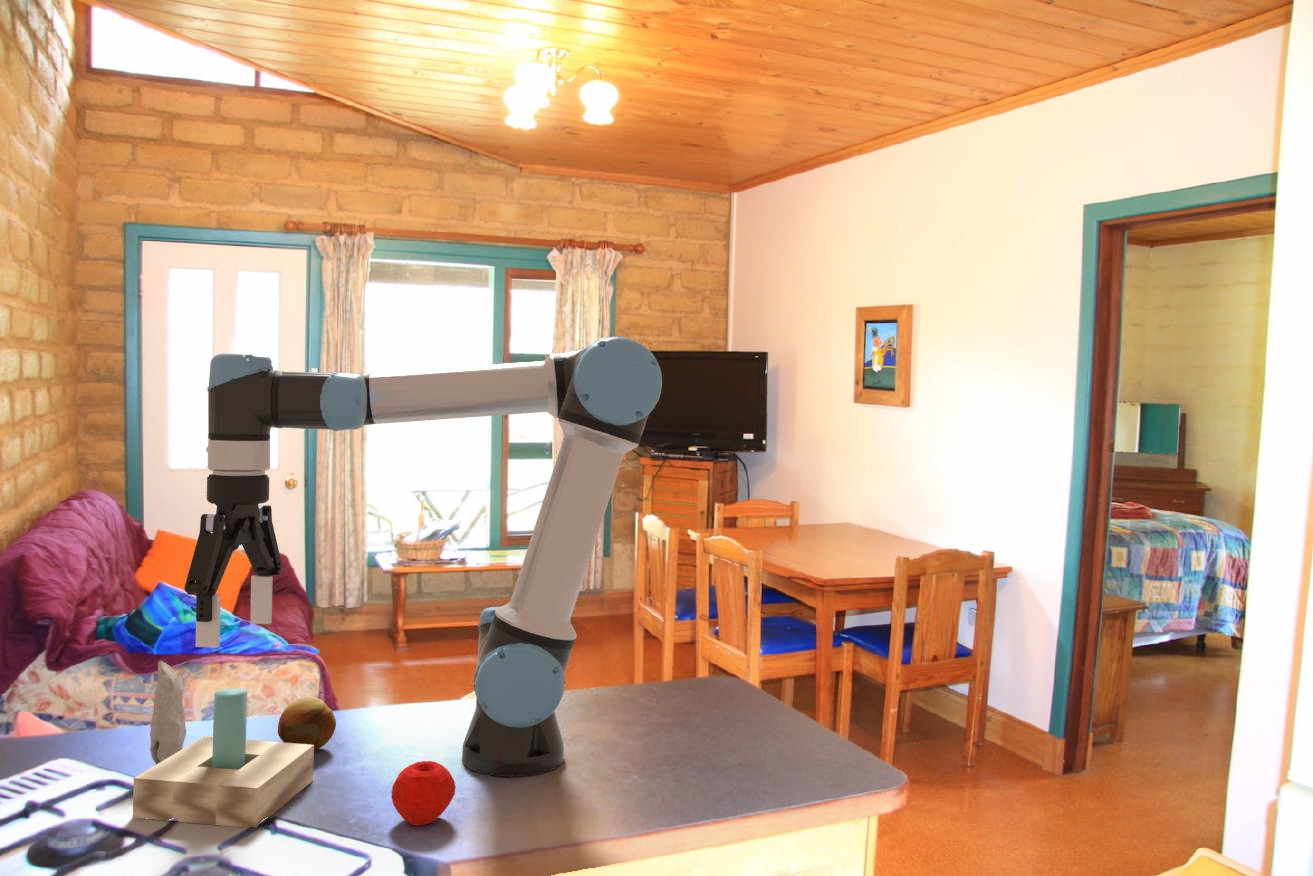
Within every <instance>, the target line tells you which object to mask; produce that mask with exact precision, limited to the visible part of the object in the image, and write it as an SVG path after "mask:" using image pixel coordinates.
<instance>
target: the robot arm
mask: <svg viewBox="0 0 1313 876" xmlns="http://www.w3.org/2000/svg"><path fill="white" fill-rule="evenodd" d="M209 366H210V367H209V377H208V386H207V387H206V388H207V395H208V396H207V400H208V402H207V403H208V404H207V407H208V411H207V414H208V417H207V418H208V419H207V423H208V426H207V427H208V429H207V430H208V434H207V440H208V443H207V447H206V453H207V469H208V470H209V471H211V472H212V473H210V474H208V476H206V500H207V502H208V503H209V504H214V505H215V506H216V511H215V513H214V514H213V513H210V514H209V513H202V514H201V516H200V521H199V523H200V524H199V534H198V536H197V540H196V545H195V549H194V552H193V555H192V559H191V562H190V566H189V571H188V572H187V573H188V574H187V577H186V581H185V585H184V591H185V592H186V593H187V595H188V596H195V598H196V599H195V601H196V602H195V604H196V605H195V606H196V607H195V648H212V649H214V648H215V649H217V648H219V647H220V646H221V643H220V642H221V639H220V638H221V594H217V591H218V589H219V587H220V584H221V582H222V579H223V577H224V575H225V573H226V569H227V567H228V564H229V562H230V559H231V557H232V554H233V553H234V552H235V551H236V550H238V549H239V548H240V546H242V548H243V551H244V552H245V554H246V557H247V559H248V561H249V563H250V565H251V567H252V569H253V571H254V574H256V575H251V577H250V579H251V580H250V615H249V617H250V618H249V620H250V624H253V625H254V624H256V625H258V624H259V625H272V623H273V621H272V620H273V582H274V581H273V579H274V578H273V576H280V575H281V573H282V570H281V569H282V568H281V567H282V565H283V563H282V558H281V555H280V554H281V553H280V550H279V545H278V542H277V541H278V540H277V537H276V534H275V533H276V532H275V528H274V525H273V517H272V514H273V513H272V506H271V505H269V504H267V505H265V504H266V503H268V501H269V499H270V476H269V475H268V474H266V471H269V470H270V469H271V429H272V428H276V429H283V428H284V429H286V428H287V429H301V430H304V429H305V430H331V431H334V432H339V431H346V430H349V431H351V430H360V429H361V428H362V427H364V426H370V425H380V424H392V423H393V424H395V423H397V424H398V423H408V422H422V421H423V422H425V421H437V420H438V421H439V420H450V419H451V420H452V419H464V418H465V419H466V418H479V417H493V416H494V417H495V416H507V415H509V416H510V415H521V414H536V413H547V414H549V415H550V416H551V417H553V418H554V419H557V422H558V424H559V425H560V428H561V430H562V433H563V439H562V442H561V445H560V448H559V452H558V455H557V457H556V460H555V463H554V466H553V469H552V472H551V476H550V478H549V482H548V485H547V488H546V491H545V494H544V498H543V500H542V502H541V506H540V510H539V512H538V516H537V518H536V519H537V520H536V522H535V525H534V527H533V532H532V535H531V537H530V541H529V544H528V546H527V549H526V552H525V556H524V559H523V561H522V564H521V567H520V571H519V574H518V576H517V579H516V582H515V586H514V589H513V592H512V595H511V598H510V601H509V602H508V603H506V604H504V605H502V606H490V607H486V608H484V609H483V610H482V611H481V612H480V616H479V623H478V625H477V629H478V645H477V647H478V650H477V659H476V667H475V668H476V671H475V673H474V678H473V683H474V684H473V689H474V693H475V697H476V698H475V699H476V702H475V703H476V705H475V710H474V713H473V715H472V718H471V721H470V724H469V727H468V729H467V732H466V734H465V737H464V740H463V743H462V751H461V753H462V754H461V755H462V758H461V761H462V764H463V765H464V766H465V767H467V768H468V769H470V770H472V771H474V772H478V773H480V774H484V775H489V776H495V777H496V776H497V777H526V776H534V775H539V774H544V773H547V772H550V771H552V770H554V769H556V768H558V767H559V766H560V765H561V764H562V763H563V762H562V760H563V761H564V751H565V749H564V747H565V745H564V741H563V737H562V733H561V729H560V726H559V723H558V719H557V716H556V710H557V708H558V707H559V704H560V703H561V701H562V698H563V696H564V694H565V689H566V688H565V687H566V686H565V685H566V677H565V673H566V670H567V667H568V664H569V661H570V658H571V654H572V651H573V648H574V644H575V642H576V638H577V636H578V635H577V633H576V630H575V628H574V627H573V624H572V622H571V618H572V615H573V613H574V610H575V606H576V603H577V600H578V597H579V595H580V590H581V588H582V584H583V581H584V579H585V576H586V572H587V570H588V566H589V563H590V560H591V558H592V554H593V551H594V547H595V545H596V541H597V538H598V535H599V533H600V528H601V527H602V523H603V520H604V516H605V514H606V511H607V508H608V504H609V502H610V498H611V495H612V492H613V489H614V485H615V483H616V480H617V478H618V474H619V470H620V468H621V465H622V462H623V460H624V456H625V455H626V454H627V453H629V452H630V451H632V450H634V449H636V448H639V445H640V442H641V438H642V436H643V433H644V429H645V426H646V424H647V420H648V418H649V415H650V413H652V411H653V410H654V409H655V408H656V405H657V404H658V402H659V400H660V396H661V395H662V388H663V376H662V369H661V367H660V365H659V362H658V360H657V358H656V357H655V356H654V354H653V352H652V351H650V349H648V347H646V346H645V345H644V344H642V343H640V342H638V341H636V340H635V339H631V338H630V337H623V336H619V335H614V336H613V335H612V336H605V337H604V336H603V337H601V338H600V339H597V340H595V341H593V342H592V343H590V344H589V345H587V347H585V348H582V349H578V350H573V351H569V352H559V353H550V354H549V355H547V356H546V358H545V359H544V360H541V361H530V362H529V361H527V362H525V361H524V362H511V363H500V364H499V363H497V364H483V365H467V366H456V367H455V366H453V367H437V368H426V369H425V368H424V369H410V370H408V369H407V370H406V369H405V370H394V371H381V372H379V371H378V372H370V373H368V372H367V373H365V372H363V373H346V372H341V371H338V372H337V371H334V372H328V371H327V372H325V371H324V372H323V371H321V372H320V371H318V372H317V371H313V372H312V371H284V370H275V369H274V367H273V365H272V359H271V357H269V356H268V355H262V354H245V353H219V354H216V355H214V356H213V357H212V358H211V360H210V365H209ZM561 762H562V763H561ZM560 763H561V764H560ZM559 764H560V765H559ZM558 765H559V766H558ZM557 766H558V767H557ZM555 767H556V768H555ZM553 768H554V769H553ZM551 769H552V770H551ZM549 770H550V771H549Z"/></svg>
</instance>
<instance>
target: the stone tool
mask: <svg viewBox="0 0 1313 876" xmlns="http://www.w3.org/2000/svg"><path fill="white" fill-rule="evenodd" d="M149 736H150V738H149V739H150V747H149V748H150V749H149V751H150V754H151V755H150V756H151V759H152V761H153V763H154V764H155V765H157V764H158V763H160V762H162V761H163V760H165V759H167V758H168V757H170V756H172V755H174V754H175V753H177V752H179V751H180V750H182V749H183V748H184V743H185V739H186V736H187V727H186V713H185V707H184V702H183V689H182V688H181V686H180V681H179V678H178V674H177V673H176V672H175V671H174V669H173V668H172V667H171V666H170V664H168V663H166V662H164V661H163V660H158V662H157V682H156V687H155V691H154V698H153V710H152V717H151V719H150V731H149Z"/></svg>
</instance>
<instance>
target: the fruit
mask: <svg viewBox="0 0 1313 876" xmlns="http://www.w3.org/2000/svg"><path fill="white" fill-rule="evenodd" d="M277 724H278V725H277V734H278V736H279V739H280V740H281V741H282V742H283V743H296V744H309V745H314V752H316V751H317V750H319V749H320V748H322V747H324V746H325V745H326V744H327V743H328V742H329V741H330V740H331V739H332V737H333V735H334V733H335V731H336V726H337V719H336V717H335V714H334V713H333V710H332V709H331V708H330V707H328V705H327V704H326V703H325V702H324V701H323V700H322V699H321V698H318V697H315V696H305V697H301V698H298V699H296V700H294V701H292V702H291V703H290V704H288V706H286V707H285V708H284V709H283V711H282V713H281V715H280V717H279V720H278V723H277Z"/></svg>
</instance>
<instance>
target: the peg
mask: <svg viewBox="0 0 1313 876" xmlns="http://www.w3.org/2000/svg"><path fill="white" fill-rule="evenodd" d="M248 693H249V692H248V690H247V689H245V688H237V687H236V688H235V687H234V688H225V689H220V690H217V691H216V692H214V695H213V696H214V699H213V722H212V723H213V727H212V737H213V753H212V768H222V769H235V770H239V769H240V768H242V767H243V766H245V753H246V740H247V724H248V723H247V722H248V721H247V718H248V717H247V716H248Z"/></svg>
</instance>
